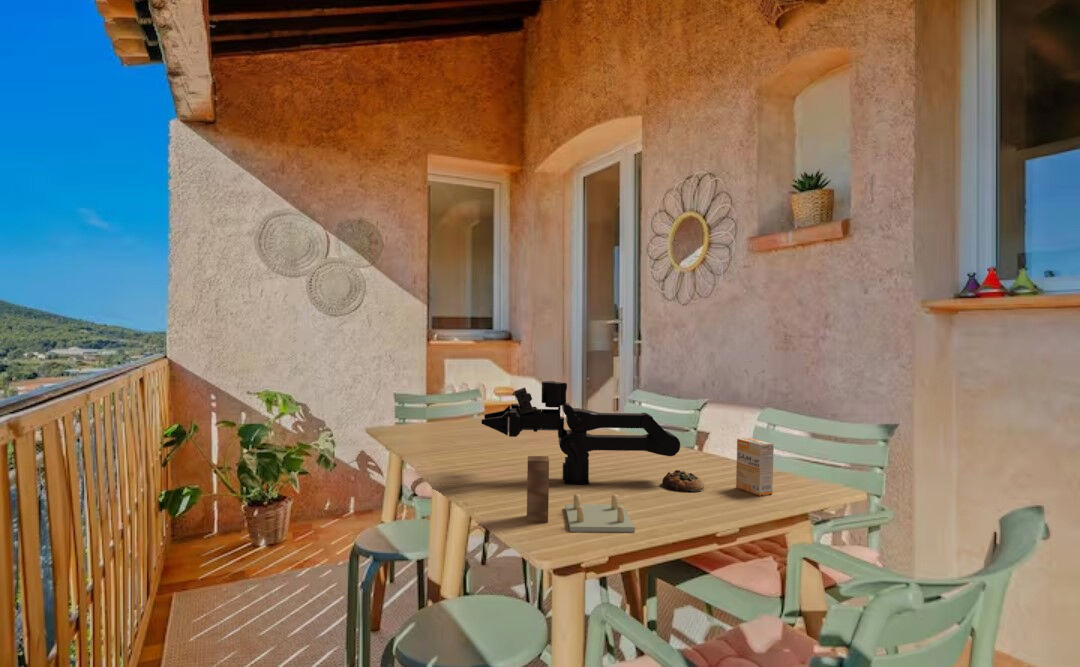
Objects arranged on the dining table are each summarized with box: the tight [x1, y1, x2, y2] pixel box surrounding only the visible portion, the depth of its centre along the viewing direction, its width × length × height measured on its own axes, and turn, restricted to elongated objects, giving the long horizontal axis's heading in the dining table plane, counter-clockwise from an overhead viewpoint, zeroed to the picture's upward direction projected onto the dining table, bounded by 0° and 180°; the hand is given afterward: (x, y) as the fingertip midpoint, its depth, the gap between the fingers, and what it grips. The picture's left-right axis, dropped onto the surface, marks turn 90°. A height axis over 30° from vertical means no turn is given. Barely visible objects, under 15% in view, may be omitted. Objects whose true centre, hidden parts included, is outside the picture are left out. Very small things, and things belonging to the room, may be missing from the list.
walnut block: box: [526, 455, 550, 524], centre depth 120 cm, size 4×4×13 cm
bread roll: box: [661, 469, 705, 493], centre depth 148 cm, size 11×11×5 cm
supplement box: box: [735, 437, 775, 497], centre depth 144 cm, size 8×5×13 cm, turn 25°
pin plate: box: [564, 493, 636, 533], centre depth 120 cm, size 13×15×4 cm
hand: (483, 418), depth 151 cm, fingers open, 9 cm apart
